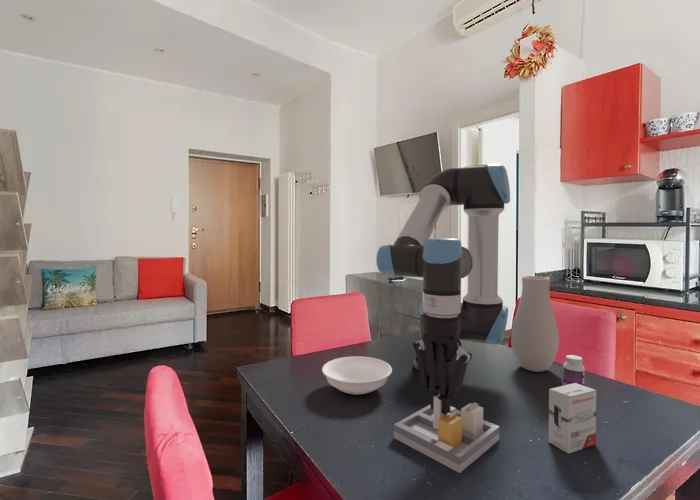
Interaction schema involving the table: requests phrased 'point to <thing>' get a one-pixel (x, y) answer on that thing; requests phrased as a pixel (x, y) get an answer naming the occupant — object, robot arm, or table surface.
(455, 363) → the robot arm
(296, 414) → the table surface
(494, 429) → the frame
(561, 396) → the ink box
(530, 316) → the vase
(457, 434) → the amber tab
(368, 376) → the bowl
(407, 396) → the table surface
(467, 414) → the ivory tab
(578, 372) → the pill bottle
